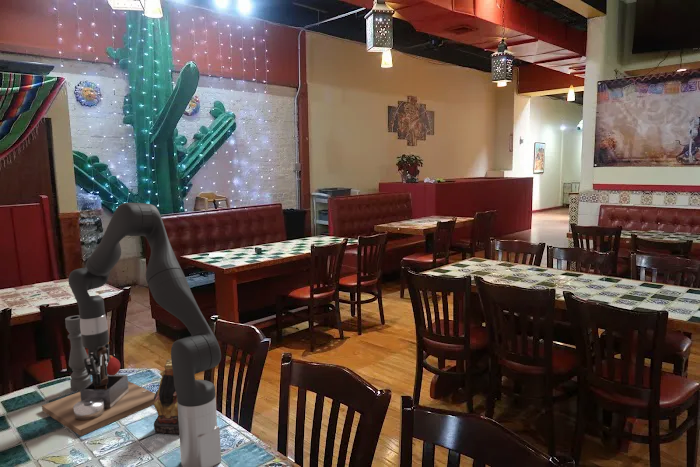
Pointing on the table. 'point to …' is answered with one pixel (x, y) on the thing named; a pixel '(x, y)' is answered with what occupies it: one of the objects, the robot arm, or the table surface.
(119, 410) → the wooden cutting board
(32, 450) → the table surface
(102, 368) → the bolt
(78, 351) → the candle holder
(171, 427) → the statue
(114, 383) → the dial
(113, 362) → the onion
